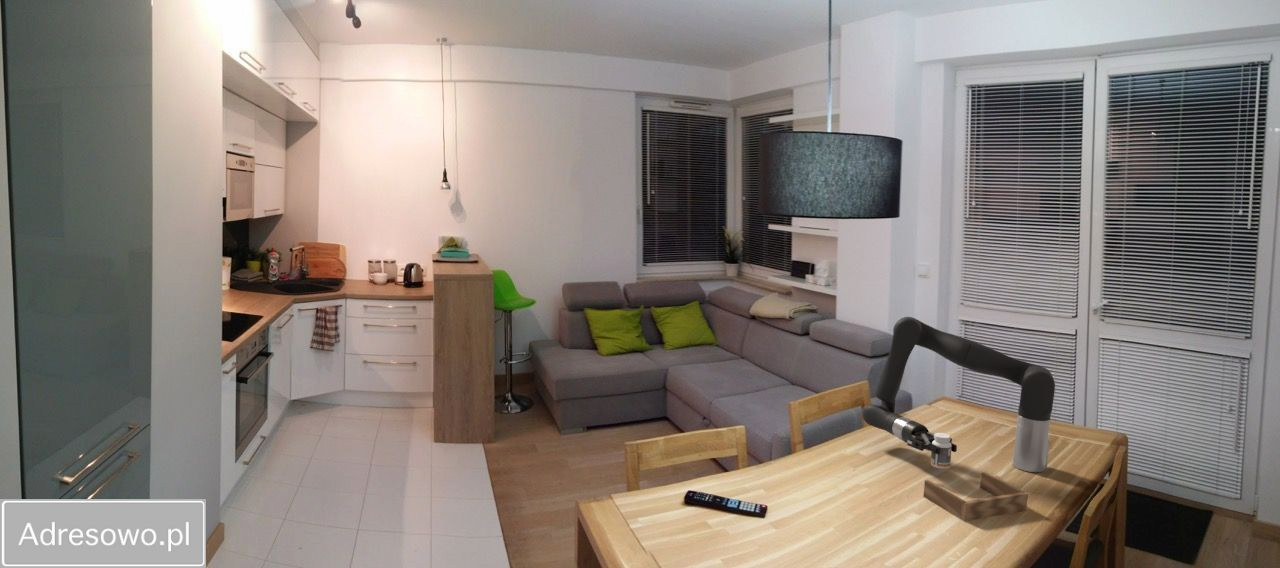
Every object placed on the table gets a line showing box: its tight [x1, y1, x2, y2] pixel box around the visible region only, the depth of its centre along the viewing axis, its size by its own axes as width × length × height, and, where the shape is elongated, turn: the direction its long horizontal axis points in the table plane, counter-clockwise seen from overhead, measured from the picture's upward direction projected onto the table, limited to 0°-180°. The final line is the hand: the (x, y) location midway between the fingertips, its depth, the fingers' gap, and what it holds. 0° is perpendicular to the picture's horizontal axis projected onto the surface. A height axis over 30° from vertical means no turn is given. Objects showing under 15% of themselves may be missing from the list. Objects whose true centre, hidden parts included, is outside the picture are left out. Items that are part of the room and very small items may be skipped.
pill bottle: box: [930, 432, 952, 470], centre depth 225 cm, size 6×6×10 cm
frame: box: [923, 471, 1029, 522], centre depth 209 cm, size 22×16×5 cm
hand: (947, 450), depth 222 cm, fingers closed on pill bottle, 5 cm apart
